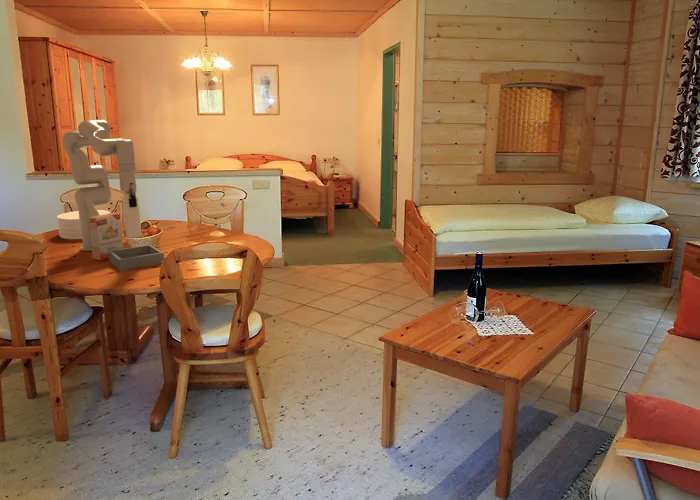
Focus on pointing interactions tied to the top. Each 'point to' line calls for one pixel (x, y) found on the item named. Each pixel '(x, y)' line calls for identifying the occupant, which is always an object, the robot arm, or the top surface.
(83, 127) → the robot arm
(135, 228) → the water bottle
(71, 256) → the top surface
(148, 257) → the tray
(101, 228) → the cracker box
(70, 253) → the top surface
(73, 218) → the plate stack
